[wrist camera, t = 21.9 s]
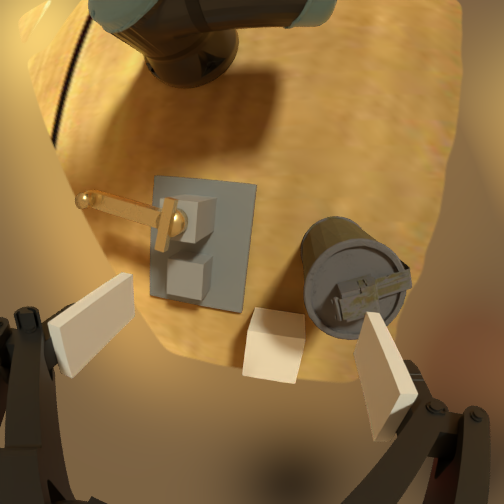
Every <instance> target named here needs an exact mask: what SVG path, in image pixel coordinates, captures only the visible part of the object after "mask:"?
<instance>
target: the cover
mask: <svg viewBox="0 0 504 504" xmlns="http://www.w3.org/2000/svg"><path fill="white" fill-rule="evenodd" d="M305 341H306V332H305V314H298V313H291V312H285V311H278V310H271V309H265V308H259V307H255V310H254V313H253V316H252V319H251V322H250V325H249V328H248V333H247V340H246V348H245V356H244V364H243V371H242V375H243V376H248V377H253V378H260V379H266V380H272V381H279V382H286V383H294V384H295V382H296V378H297V374H298V370H299V366H300V362H301V358H302V353H303V349H304V345H305Z"/></svg>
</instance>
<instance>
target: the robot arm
mask: <svg viewBox="0 0 504 504" xmlns="http://www.w3.org/2000/svg"><path fill="white" fill-rule="evenodd" d="M336 2H337V0H89V1H88V9H89V13H90V15H91V17H92V18H93V20H94V21H96V22H97V23H98V24H100V25H101V26H102V27H103V29H104V30H105V31H106V32H108V33H111V34H112V35H114V36H115V37H117V38H119V39H120V40H122V41H123V42H125V43H126V44H128V45H130V46H131V47H133V48H134V49H136V50H137V51H139V52H140V53H142V54H143V56H144V59H145V61H146V64H147V66H148V68H149V70H150V72H151V73H152V74H153V75H154V76H155V77H156V78H157V79H159V80H160V81H162V82H163V83H165V84H167V85H169V86H172V87H177V88H192V87H197V86H200V85H203V84H206V83H208V82H210V81H212V80H214V79H215V78H217V77H218V76H220V75H221V74H222V73H223V72H224V71H225V70H226V69H227V68H228V67H229V66H230V64H231V63H232V61H233V60H234V58H235V56H236V53H237V50H238V45H239V39H238V34H237V31H236V29H244V28H261V27H283V28H285V29H290V28H293V27H316V26H320V25H322V24H323V23H325V22H326V21H327V20H328V19H329V18H330V17H331V15H332V13H333V11H334V8H335V5H336ZM134 316H135V310H134V292H133V274H128V273H123V272H121V273H120V274H118V275H117V276H115V277H114V278H112V279H111V280H109V281H108V282H106V283H105V284H103V285H102V286H100V287H99V288H97V289H96V290H94V291H93V292H91V293H90V294H88V295H87V296H85V297H84V298H82V299H81V300H79V301H78V302H77V303H73V304H70V305H67V306H66V307H64V308H63V309H61V311H58V312H57V313H56V314H54V315H53V316H51V317H50V318H48V319H47V320H46V321H44V322H43V323H41V320H40V315H39V310H38V309H37V308H35V307H22V308H20V309H18V310H17V311H16V312H15V313H14V318H15V321H16V325H17V329H14V328H10V325H9V321H8V319H6V318H3V317H0V426H1V422H2V420H3V417H4V413H5V411H6V421H5V448H0V504H107V503H104V502H102V501H100V500H98V499H96V498H94V497H91V498H90V500H89V501H88V502H87V501H81V500H76V499H75V498H74V495H73V493H72V491H71V489H70V485H69V481H68V476H67V471H66V467H65V461H64V456H63V450H62V444H61V437H60V430H59V422H58V412H57V401H56V386H55V372H54V369H53V367H54V366H55V365H56V364H57V363H58V366H59V369H60V372H61V373H62V374H64V375H66V376H68V377H70V378H73V377H74V376H75V375H76V374H77V373H78V372H79V371H80V370H81V369H82V368H83V367H84V366H85V365H86V364H87V363H88V362H89V361H90V360H91V359H92V358H93V357H94V356H95V355H96V354H97V353H98V352H99V351H100V350H101V349H102V348H103V347H104V346H105V345H106V344H107V343H108V342H109V341H110V340H111V339H112V338H113V337H114V336H115V335H116V334H117V333H118V332H119V331H120V330H121V329H122V328H123V327H124V326H125V325H126V324H127V323H128V322H129V321H130V320H131V319H133V318H134ZM354 358H355V362H356V365H357V369H358V373H359V377H360V382H361V386H362V390H363V394H364V398H365V403H366V407H367V412H368V416H369V421H370V425H371V430H372V435H373V440H374V442H385V441H391V440H392V438H393V436H394V435H395V433H397V439H396V440H395V441H394V442H393V444H392V445H391V447H390V448H389V449H388V450H387V452H386V453H385V454H384V455H383V457H382V458H381V459H380V460H379V462H378V463H377V464H376V465H375V467H374V468H373V469H372V470H371V471H370V473H369V474H368V475H367V476H366V477H365V478H364V479H363V480H362V482H361V483H360V484H359V485H358V486H357V487H356V488H355V489H354V490H353V491H352V492H351V493H350V495H349V496H348V497H347V498H346V499H345V500H344V501H343V502H342V503H341V504H397V502H398V501H399V500H400V498H401V497H402V495H403V494H404V492H405V491H406V489H407V488H408V486H409V485H410V483H411V482H412V480H413V479H414V477H415V476H416V474H417V472H418V471H419V469H420V467H421V466H422V464H423V462H424V461H425V459H426V457H427V456H428V457H434V460H433V465H432V470H431V474H430V478H429V482H428V486H427V490H426V494H425V498H424V501H423V504H487V503H488V493H489V481H490V421H489V416H488V414H487V413H486V411H485V410H484V409H482V408H480V407H478V406H470V407H468V408H466V409H465V411H464V412H463V414H458V413H452V412H449V411H448V408H447V406H446V405H445V404H444V403H443V402H442V401H440V400H438V399H435V398H433V397H432V395H431V393H430V391H429V389H428V387H427V385H426V383H425V381H424V379H423V377H422V375H421V373H420V371H419V369H418V367H417V366H416V365H415V364H414V363H413V362H412V361H411V360H403V359H402V357H401V355H400V353H399V351H398V349H397V347H396V345H395V343H394V341H393V339H392V337H391V335H390V333H389V331H388V329H387V327H386V325H385V323H384V321H383V319H382V317H381V315H380V313H375V312H366V315H365V318H364V322H363V325H362V328H361V332H360V335H359V338H358V341H357V344H356V348H355V351H354Z"/></svg>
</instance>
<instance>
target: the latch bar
mask: <svg viewBox="0 0 504 504" xmlns="http://www.w3.org/2000/svg"><path fill="white" fill-rule="evenodd" d="M75 203H76V206H77V207H78V208H79V209H84V208H89V207H91V208H94V209H97V210H100V211H103V212H106V213H110V214H113V215H116V216H119V217H122V218H125V219H128V220H132V221H135V222H138V223H141V224H144V225H147V226H151V227H154V228H157V230H158V233H157V238H156V243H155V250H157V251H160V252H163V253H164V252H166V251H167V250H168V247H169V242H170V238H171V237H174V236H176V235H178V234H180V233H182V232H184V231H185V230H186V228H187V226H188V217H187V215H186V213H185V212H184V211H183V210H182V209H179V208H177V205H178V199H175V198H171V197H166V198H165V199H164V203H163V208H158V207H155V206H151V205H148V204H144V203H141V202H137V201H134V200H130V199H127V198H123V197H120V196H116V195H113V194H109V193H105V192H102V191H98V190H95V189H94V190H86V192H84V193H79V194H77V196H76V198H75Z"/></svg>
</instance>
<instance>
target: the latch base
mask: <svg viewBox="0 0 504 504" xmlns="http://www.w3.org/2000/svg"><path fill="white" fill-rule="evenodd" d="M256 190H257V185H255V184H246V183H238V182H228V181H218V180H208V179H197V178H185V177H172V176H155V177H154V189H153V203H152V206H155V207H158V208H163V203H164V199H165V198H166V197H171V198H175V199H178V205H177V208H179V209H182V210H183V211H184V212H185V213H186V215H187V217H188V226H187V228H186V230H185V231H184V232H182V233H180V234H178V235H176V236H174V237H171V238H170V242H169V247H168V250H167V251H166V252H164V253H163V252H160V251H157V250H155V243H156V238H157V233H158V230H157V228H154V227H151V244H150V295H152V296H157V297H161V298H166V299H171V300H176V301H180V302H185V303H190V304H195V305H201V306H206V307H211V308H217V309H222V310H228V311H233V312H239V313H242V310H243V301H244V293H245V284H246V275H247V267H248V258H249V250H250V241H251V233H252V224H253V216H254V207H255V199H256Z"/></svg>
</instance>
